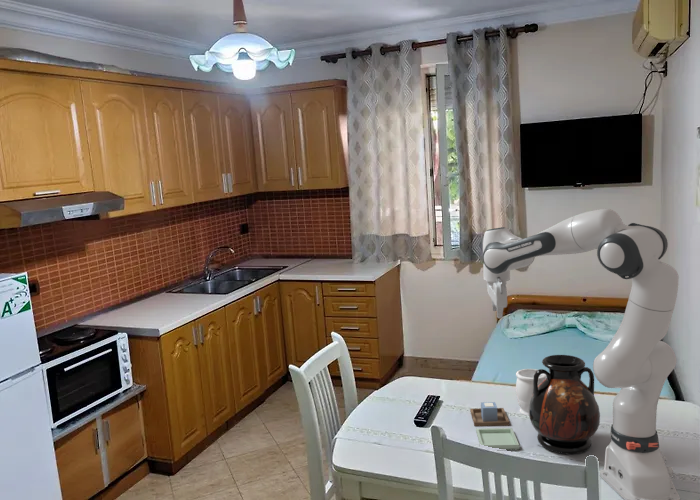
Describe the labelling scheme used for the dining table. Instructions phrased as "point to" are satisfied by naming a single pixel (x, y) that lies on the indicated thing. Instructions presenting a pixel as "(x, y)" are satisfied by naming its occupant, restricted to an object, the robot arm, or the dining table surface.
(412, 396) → the dining table surface
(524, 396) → the jar
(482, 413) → the letter cube
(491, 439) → the sage tray
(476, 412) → the walnut tray
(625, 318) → the robot arm
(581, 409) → the amphora vase
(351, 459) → the dining table surface
